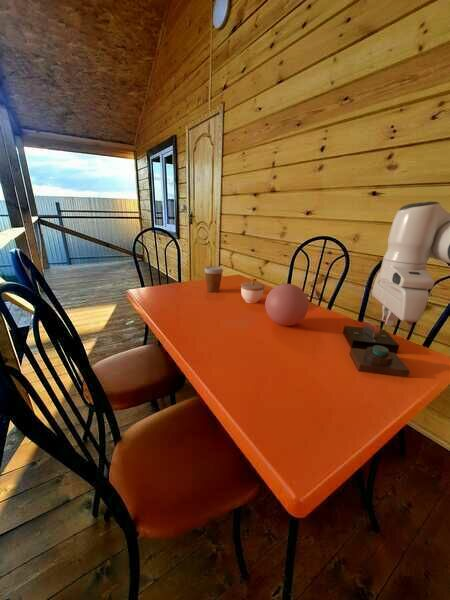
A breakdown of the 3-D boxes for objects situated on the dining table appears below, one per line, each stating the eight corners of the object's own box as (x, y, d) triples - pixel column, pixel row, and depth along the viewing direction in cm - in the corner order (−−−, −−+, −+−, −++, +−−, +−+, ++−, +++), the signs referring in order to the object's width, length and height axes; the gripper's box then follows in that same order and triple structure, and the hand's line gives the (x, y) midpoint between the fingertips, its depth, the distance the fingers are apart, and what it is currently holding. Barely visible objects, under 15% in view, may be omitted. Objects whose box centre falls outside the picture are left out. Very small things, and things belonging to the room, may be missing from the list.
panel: (382, 337, 87) (384, 329, 86) (396, 354, 77) (399, 345, 76) (342, 333, 89) (344, 325, 88) (351, 348, 79) (353, 339, 78)
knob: (362, 330, 85) (365, 319, 83) (367, 330, 85) (369, 319, 83) (372, 338, 80) (375, 326, 78) (377, 338, 80) (380, 326, 78)
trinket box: (263, 298, 123) (264, 279, 120) (262, 305, 113) (264, 285, 110) (241, 296, 125) (242, 277, 121) (239, 303, 115) (240, 283, 111)
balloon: (322, 324, 96) (329, 285, 91) (284, 336, 85) (289, 293, 80) (291, 311, 108) (296, 276, 103) (255, 320, 98) (258, 281, 92)
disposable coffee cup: (223, 288, 136) (224, 266, 132) (220, 293, 128) (221, 270, 124) (206, 287, 138) (206, 265, 134) (202, 292, 129) (202, 269, 125)
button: (383, 351, 71) (385, 345, 71) (389, 358, 68) (390, 352, 67) (370, 349, 72) (371, 344, 71) (374, 356, 68) (376, 350, 68)
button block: (392, 359, 74) (396, 347, 73) (407, 377, 66) (411, 364, 65) (349, 354, 76) (351, 342, 75) (358, 371, 68) (361, 358, 67)
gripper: (372, 263, 72) (361, 308, 77) (406, 281, 53) (389, 340, 58) (396, 265, 71) (384, 310, 76) (440, 284, 52) (420, 343, 57)
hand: (387, 323), depth 67 cm, fingers closed
